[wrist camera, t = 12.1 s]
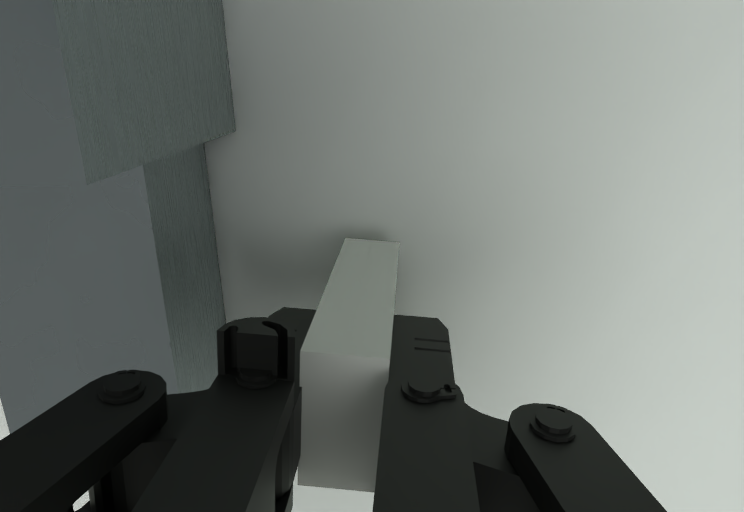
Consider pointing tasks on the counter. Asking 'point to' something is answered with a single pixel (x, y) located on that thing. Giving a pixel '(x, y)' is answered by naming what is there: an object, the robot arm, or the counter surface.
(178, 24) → the link
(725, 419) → the counter surface
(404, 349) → the robot arm
